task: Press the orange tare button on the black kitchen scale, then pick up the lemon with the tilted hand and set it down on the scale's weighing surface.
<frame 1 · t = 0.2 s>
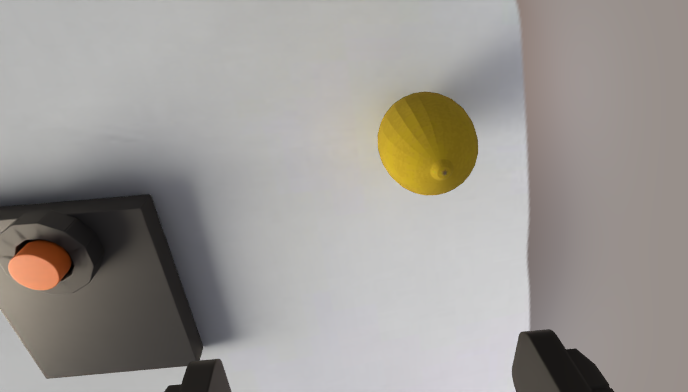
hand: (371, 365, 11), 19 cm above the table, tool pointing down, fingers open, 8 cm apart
tare button: (40, 265, 27), point 4 cm above the table, slide at 0.2 cm
lemon: (411, 118, 28), on the table
scale: (99, 287, 33), on the table
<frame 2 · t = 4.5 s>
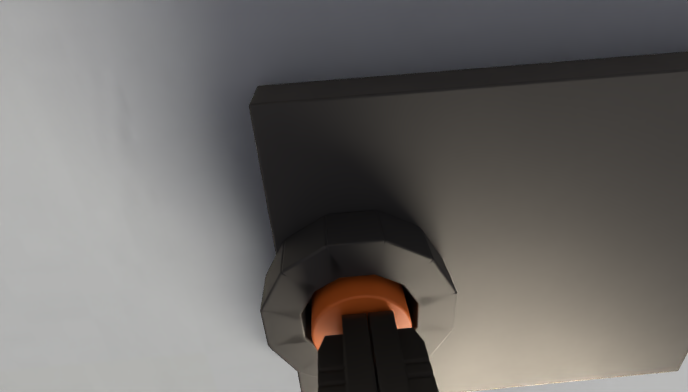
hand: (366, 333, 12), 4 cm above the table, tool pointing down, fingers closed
tare button: (359, 314, 13), point 3 cm above the table, slide at -0.5 cm, touching gripper
scale: (494, 238, 16), on the table
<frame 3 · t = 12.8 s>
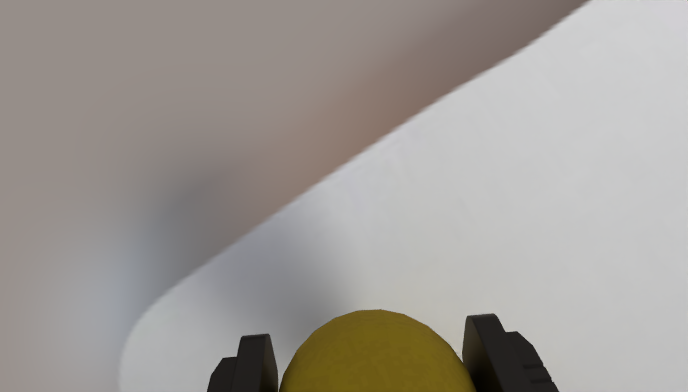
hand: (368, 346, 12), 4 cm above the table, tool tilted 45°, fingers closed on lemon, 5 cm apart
lemon: (367, 385, 15), on the table, touching gripper
when the fingers open (6 cm above the table, at t = 23.1 s): lemon stays where it is, resting on scale.
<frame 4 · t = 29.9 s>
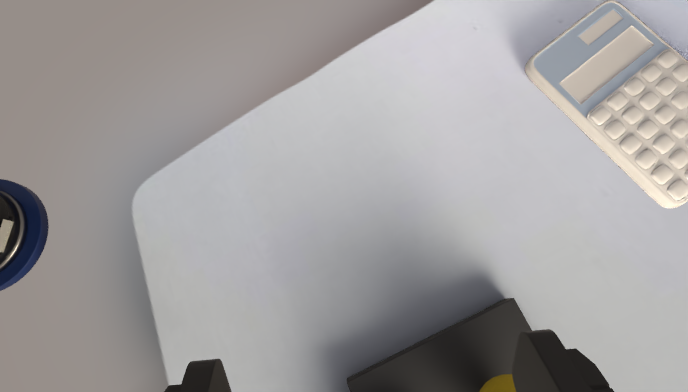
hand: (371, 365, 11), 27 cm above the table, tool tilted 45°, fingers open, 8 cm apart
calculator: (630, 102, 43), on the table
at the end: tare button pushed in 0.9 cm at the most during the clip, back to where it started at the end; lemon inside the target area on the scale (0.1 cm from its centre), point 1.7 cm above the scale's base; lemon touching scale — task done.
